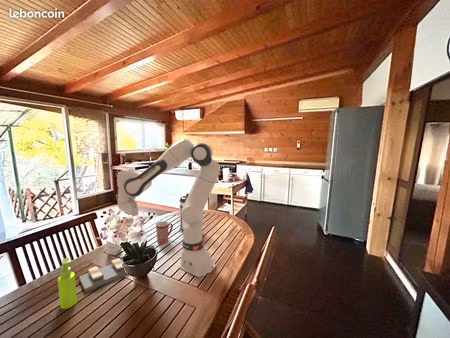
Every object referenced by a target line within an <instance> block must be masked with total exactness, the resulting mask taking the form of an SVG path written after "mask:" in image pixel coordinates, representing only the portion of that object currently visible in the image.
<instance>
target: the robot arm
mask: <svg viewBox="0 0 450 338" xmlns="http://www.w3.org/2000/svg"><path fill="white" fill-rule="evenodd" d="M213 153H214V152H213V149H212V147H211V146H210V145H209V144H208V143H205V142H198V143H196V144H193V143H192V142H191V141H190V140H189V139H186V138H182V139H181V140H178V141H177V142H174V143H173V144H171V146H169V147H168V148H167V149H166V150H165V151H164V152H163V153H162V154H161V155H160V156H159V157H158V158H157V159H156V160H155V161H154V162H153V163H152V164H151V165H150V166H149V167H148V168H146V169H144V171H142V172H141V173H140V172H137V171H135V170H133V168H125V169H122V170H119V171H118V173H117V175H116V176H117V177H116V178H117V179H116V180H117V181H116V182H117V187H118V191H117V193H118V194H115V198H116V200H117V205H118V206H117V207H118V209H119V210H120V211H123V212H124V214H125V213H126V214H128V215H132V216H133V217H136V216H138V215H139V205H138V203H137V202H136V201H135V200H136V198H137V197H139V196H140V195H141V194H143V193H144V192H146V191H147V190H149V189H150V188H151V187H152V181H153V180H154V179H156V178H157V177H158V176H160V175H163V173H164V174H165V173H166V172H168V171H171V170H173V169H176V168H177V167H179V166H180V165H181V164H183V163H184V162H185V161H187V160H188V159H189V158H192V160H193V161H194V162H195V163H196V164H197V165H198V166H200V169H199V172H198V173H197V175H196V178H195V180H194V182H193V184H192V186H191V189H190V191H189V193H188V194H189V195H188V197H187V199H186V201H185V203H184V205H183V208H182V211H181V215H182V219H183V220H184V225H183V230H182V234H183V236H182V237H183V238H182V242H181V243H182V245H181V246H182V250H181V254H180V262H179V264H178V269H180V270H183V271H184V272H186V273H188V272H189V273H188V274H190V273H191V274H190V275H192V274H193V275H192V276H194V275H195V276H194V277H196V276H197V277H196V278H201V277H200V276H202V277H204V276H203V275H205V276H207V275H208V274H207V273H209V272H210V271H212V270H213V269H214V268H215V266H216V263H214V262H213V261H212V260H213V259H212V255H211V252H210V251H208V250H207V249H206V246H205V244H206V243H205V242H204V239H203V217H204V216H203V215H204V209H205V207H206V204H207V202H208V200H209V198H210V195H211V193H212V191H213V188H214V186H215V184H216V182H217V181H218V177H219V174H220V170H221V166H220V164H219V163H218V161H216V160H214V159H213ZM212 267H214V268H212ZM216 267H217V266H216ZM215 269H216V268H215ZM215 269H214V270H215ZM214 270H213V271H214ZM213 271H212V272H213ZM206 274H207V275H206ZM209 274H210V273H209Z"/></svg>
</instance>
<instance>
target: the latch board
mask: <svg viewBox="0 0 450 338" xmlns="http://www.w3.org/2000/svg"><path fill="white" fill-rule="evenodd" d="M120 260H121V261H122V260H123V259H120ZM99 270H100V272H101V273H102V275H104V278H102V279H99V280H97V281H94V282H93V279H92V277H91V275H90V273H89V271H88V272H87V273H85V274H84V273H83V274H82V275H79V282H80V284H81V286H82V288H83V291H84V293H88V292H90V291H92V290H94V289H97V288H99V287H102V286H104V285H105V284H109V283H111V282H112V281H115V280H117V279H119V278H122V277H124V276H126V275H128V274H127V273H126V272H125V270H124V269H123V270H121V271H118V272H117V269H116V268H115V267H114V265H113V264H112V263H110V264H108V265H105V266H103V267H100V268H99Z"/></svg>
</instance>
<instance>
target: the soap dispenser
mask: <svg viewBox="0 0 450 338" xmlns="http://www.w3.org/2000/svg"><path fill="white" fill-rule="evenodd" d="M69 260H70V259H69V257H64V258H63V259H62V261H61V266H62V268H61V269H60V275H59V276H58V278H57V289H58V299H59V300H58V301H59V307H60V309H61V310H67V309H70V308H72V307H74V305H76V304H77V302H78V298H77V285H76V283H77V282H76V273H75V272H74V271H72V270H71V269H72V268H71V266H68V263H69Z"/></svg>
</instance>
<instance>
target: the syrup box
mask: <svg viewBox="0 0 450 338" xmlns="http://www.w3.org/2000/svg"><path fill="white" fill-rule="evenodd" d="M106 247H107V248H106V249H107V255H112V256H116V255H118V254H119V253H120V252H122V250H123V249H122V246H121V247H120V246H119V245H117V244H113V243H111V242H108V241H107V240H106Z"/></svg>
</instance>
